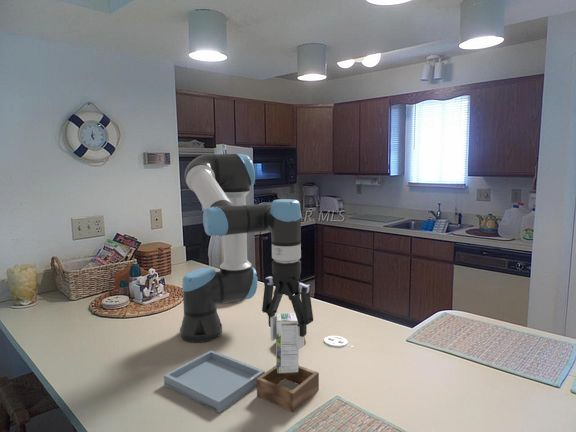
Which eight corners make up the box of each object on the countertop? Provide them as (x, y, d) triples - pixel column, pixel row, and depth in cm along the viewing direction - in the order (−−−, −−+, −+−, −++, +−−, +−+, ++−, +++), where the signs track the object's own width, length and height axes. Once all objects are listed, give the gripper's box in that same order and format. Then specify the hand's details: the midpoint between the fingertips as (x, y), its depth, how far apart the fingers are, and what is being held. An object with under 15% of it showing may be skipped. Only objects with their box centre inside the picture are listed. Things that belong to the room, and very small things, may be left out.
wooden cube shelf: (257, 396, 108) (256, 378, 107) (283, 376, 117) (283, 360, 117) (293, 412, 101) (293, 393, 100) (318, 389, 110) (318, 372, 110)
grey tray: (164, 385, 114) (163, 375, 113) (211, 359, 128) (211, 350, 127) (219, 413, 101) (218, 402, 100) (264, 380, 115) (264, 371, 115)
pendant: (330, 336, 144) (330, 333, 144) (358, 343, 138) (358, 341, 138) (320, 343, 138) (320, 341, 138) (349, 352, 132) (349, 349, 132)
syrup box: (276, 362, 111) (274, 312, 109) (297, 361, 111) (296, 311, 109) (277, 374, 105) (276, 321, 103) (299, 372, 106) (299, 320, 103)
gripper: (246, 256, 107) (248, 337, 110) (311, 269, 95) (312, 359, 98) (264, 251, 113) (266, 328, 116) (328, 262, 101) (327, 347, 104)
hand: (287, 342), depth 107 cm, fingers closed on syrup box, 8 cm apart
